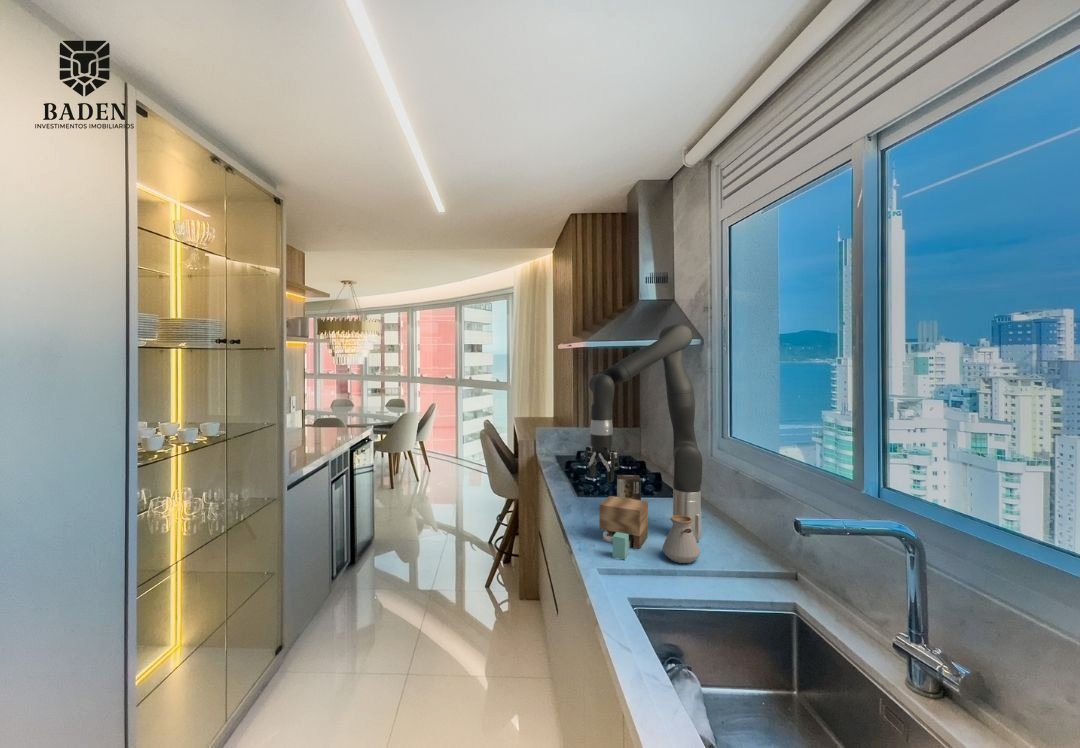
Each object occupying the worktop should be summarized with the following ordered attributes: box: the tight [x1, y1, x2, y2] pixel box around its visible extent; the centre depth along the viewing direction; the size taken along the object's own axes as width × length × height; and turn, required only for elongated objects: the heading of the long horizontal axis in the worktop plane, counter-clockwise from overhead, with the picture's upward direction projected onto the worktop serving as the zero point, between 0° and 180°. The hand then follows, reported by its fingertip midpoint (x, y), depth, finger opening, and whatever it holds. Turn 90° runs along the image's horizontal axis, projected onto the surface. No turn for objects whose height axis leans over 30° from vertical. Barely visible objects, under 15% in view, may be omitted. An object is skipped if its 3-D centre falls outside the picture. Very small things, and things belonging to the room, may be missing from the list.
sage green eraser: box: [612, 532, 634, 561], centre depth 150 cm, size 4×16×7 cm, turn 153°
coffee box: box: [616, 474, 642, 501], centre depth 181 cm, size 9×6×16 cm
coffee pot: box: [662, 515, 701, 564], centre depth 138 cm, size 21×12×15 cm, turn 171°
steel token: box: [602, 530, 616, 544], centre depth 158 cm, size 5×5×2 cm
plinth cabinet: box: [598, 495, 649, 550], centre depth 158 cm, size 14×11×13 cm
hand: (601, 479), depth 156 cm, fingers open, 8 cm apart
